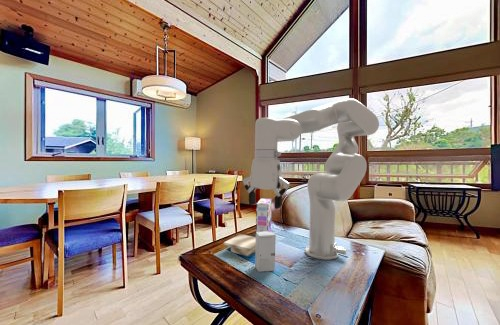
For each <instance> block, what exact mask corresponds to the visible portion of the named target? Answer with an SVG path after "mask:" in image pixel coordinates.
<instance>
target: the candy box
mask: <svg viewBox="0 0 500 325" xmlns="http://www.w3.org/2000/svg"><path fill="white" fill-rule="evenodd" d="M255 205H256V207H255V211H256V212H255V233H256V232H263V231H272V198H260V199H259V200H258V201H257V202H255Z"/></svg>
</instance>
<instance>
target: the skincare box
mask: <svg viewBox="0 0 500 325" xmlns="http://www.w3.org/2000/svg"><path fill="white" fill-rule="evenodd" d="M255 237H256V245H255V252H254V254H255V258H254V259H255V260H254V267H255V269H256V271H257V272H259V273H260V272H270V271H271V272H272V271H275V269H276V265H275V264H276V237H277V236H276V234H275V233H274V232H273V231H272V230H271V231H263V232H256V231H255Z"/></svg>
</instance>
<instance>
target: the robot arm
mask: <svg viewBox="0 0 500 325" xmlns="http://www.w3.org/2000/svg"><path fill="white" fill-rule="evenodd" d="M254 124H255V127H254V128H255V129H254V158H253V159H252V162H251V168H250V175H249V176H248V177H245V178H244V179H242V182H243V185H244V188H245V190H246V192H247V194H248V205H249V206H252V205H256V196H257V195H256V192H255V191H256V190H258V189H260V190H267V191H273V192H274V194H275V195H276V196H275V197H274V209H280V208H281V206H282V204H283V202H282V201H283V195H284V194H286V192H287V191H288V189H289V187H290V185H291V184H290V182H288V181H287V180H285V179H284V178H282V166H281V161H280V159H278V157H281V155H282V153H281V151H279V150H278V143H279V142H280V143H281V142H292V141H295V140H297V139H299V137H300V136H301V135H303V134H310V133H315V132H318V131H321V130H323V129H325V128H328V127H331V126H333V125H336V124H337V125H336V131H337V135H338V144H337V145H336V147H335V148H334V150H333V151H332V153H331V154H330V156H329V157H328V158H327V160H326V161H325V163H324V172H325V173H324V172H317V173H314V174H312V175H311V176H310V177H309V178H308V181H307V192H308V197H309V198H308V199H309V232H308V234H309V239H308V240H309V241H308V242H309V243H308V245H306V247H304V248H305V249H304V251H305V254H306V255H307V256H309V257H311V258H314V259H316V260H317V259H318V260H322V261H323V260H324V261H328V260H329V261H331V260H335V259H337V258H338V257H339V254H340V255H344V256H346V255H347V249H345V247H344V246H338V244H337V241H335V238H336V237H335V235H336V229H335V228H336V208H335V204H334V201H337V202H346V201H347V200H349V199H350V198H351V197H352V196H353V195H354V193H355V191H356V190H357V188H358V186H359V185H360V184H361V183H362V180H363V179H364V177H365V176H366V172H367V168H368V166H367V165H368V164H367V160H366V158H365V157H364V156H363V155H361V154H359V144H358V143H357V141H356V139H355V137H360V136H371V135H373V134H375V133H376V132H378V130H379V126H380V122H379V118H378V117H377V115H376V114H375V113H374V112H373V111H372V110H371V109H370V108H368V107H367V106H366V105H364V103H362V102H360V101H358V100H357V99H355V98H351V97H350V98H344V99H342V100H341V99H340V100H337V101H333V102H329V103H326V104H323V105H320V106H317V107H314V108H311V109H307V110H305V111H301V112H299V113H297V114H294V115H290V116H288V117H284V118H279V119H278V118H277V119H276V118H274V117H259V118H257V119H256V121H255V123H254ZM282 185H283V186H282ZM281 188H282V189H281Z"/></svg>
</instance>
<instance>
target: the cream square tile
mask: <svg viewBox="0 0 500 325" xmlns="http://www.w3.org/2000/svg"><path fill="white" fill-rule="evenodd" d="M255 245H256V236H252V235H246V234H243V233H239V234H237V235H236V236H233V237H231V238H229V239H228V240H226V241H224V242H223V246H225V247H230V252H231V253H234V254H238V255H242V256H245V257H249V256H251V255H252V254H255Z"/></svg>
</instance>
